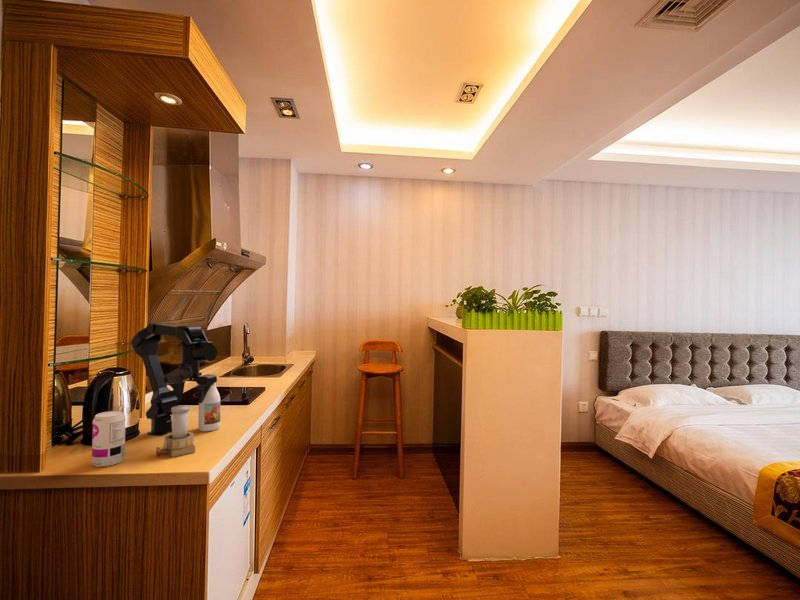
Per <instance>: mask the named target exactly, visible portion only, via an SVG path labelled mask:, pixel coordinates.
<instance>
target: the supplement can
mask: <svg viewBox="0 0 800 600" xmlns="http://www.w3.org/2000/svg"><path fill="white" fill-rule="evenodd" d="M91 432H92V435H91V436H92V438H91V441H92V442H91V443H92V444H91V446H92V447H91V464H92V465H93V466H94V465H95V466H94V467H96V466H107V467H110V466H109V465H112V466H115V465H118V464H119V463H122V462H123V461H124V460H125V458H126V455H125V454H126V415H125V413H124V412H123V411H122V410H111V411H109V410H108V411H103V412H99V413H97V414H95V416H94V418H93V420H92V431H91ZM117 463H118V464H117ZM114 464H115V465H114Z"/></svg>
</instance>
